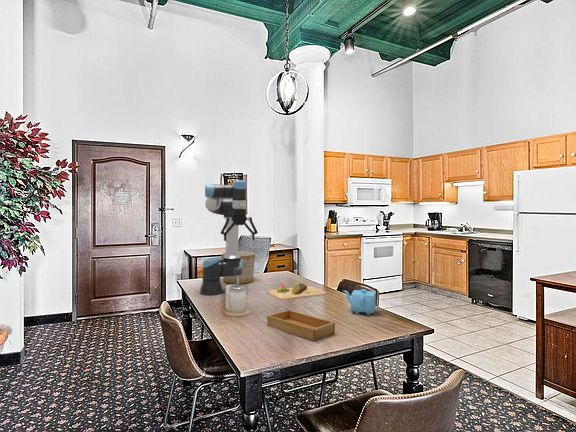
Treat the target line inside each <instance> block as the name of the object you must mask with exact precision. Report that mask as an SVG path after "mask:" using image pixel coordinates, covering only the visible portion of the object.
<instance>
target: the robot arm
mask: <svg viewBox="0 0 576 432" xmlns="http://www.w3.org/2000/svg"><path fill="white" fill-rule="evenodd" d="M204 197H205V198H207V199H205V201H204V202H205V207H206V209H207V210H208V212H210V213H212V214H215V215H222V216H223V218H224V219H225V223H224V225H223V227H222V229H221V231H220V234H221V235H223V242H225V252H226V255H225V256H224V257H223V260H222V259H221V257H219V256H218V257H217V256H216V257H210V258H206V259H204V260H203V261H202V283H201V285H200V289H199V294H200V295H204V296H216V295H221V294H223V293H224V289H223V285H222V282H221V278H223V277H230V276H233V277H235V276H237V275H234V268H242V267H243V260H242V259H240V256H239V255H238V251H239V226H243V225H244V226H245V228H246V229H247V230H248V231H249V232H250V233H251V234H250V235H249V236H250V239H249V240H250V242H249V243H250V248H251V247H253V241H255V235H257V234H258V230H257V228H256V226H255V224H254V222H253V217H252V216H251V217H250V216H249V217H248V216H247V209H246V208H247V181H246V180H241V179H237V180H233V181H232V184H213V183H210V184H206V185H205V186H204ZM247 221H248V222H249V223H250V225H251V227H252V228H250V226H249V225H248V224H247V223H246V222H247ZM252 229H253V230H252ZM239 276H240V275H239Z"/></svg>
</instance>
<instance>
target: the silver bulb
mask: <svg viewBox="0 0 576 432" xmlns="http://www.w3.org/2000/svg"><path fill="white" fill-rule="evenodd" d="M234 275H237V284H233V285H234V286H230V289H232V290H242V289H245V288H246V285H244V284H243V285H242V284H239V275H242V268H234Z"/></svg>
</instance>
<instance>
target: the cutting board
mask: <svg viewBox="0 0 576 432" xmlns="http://www.w3.org/2000/svg"><path fill="white" fill-rule="evenodd" d="M266 293H267V294H268V295H271V296H272V297H274V298H275V299H277V300H279V301H286V300H287V301H288V300H296V299H303V298H304V299H305V298H314V297H320V296H326V295H328V294H327V293H328V292H326V291H324V290H321V289H319V288H316V287H314V286H311V285H307V284H305V283H302V282H299V283H298V284H297V283H294V284H293V287H285V285H283V284H282V283H281V284H280V285H279V288H276V289H269V290H267V291H266Z"/></svg>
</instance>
